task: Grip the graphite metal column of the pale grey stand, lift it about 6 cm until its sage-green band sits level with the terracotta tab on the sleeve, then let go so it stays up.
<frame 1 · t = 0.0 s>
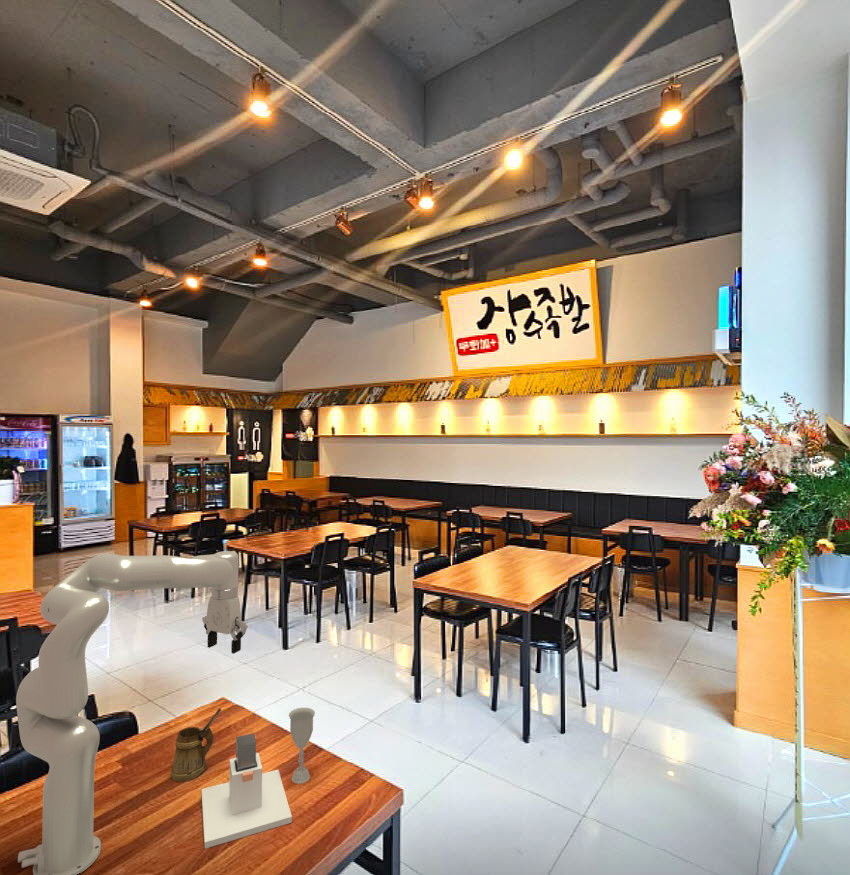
hand: (224, 648, 157), 31 cm above the table, tool pointing down, fingers open, 9 cm apart
wooden mug: (196, 772, 147), on the table
column: (245, 770, 133), point 10 cm above the table, slide at 0.0 cm
chalice: (300, 778, 145), on the table
stand: (245, 808, 133), on the table
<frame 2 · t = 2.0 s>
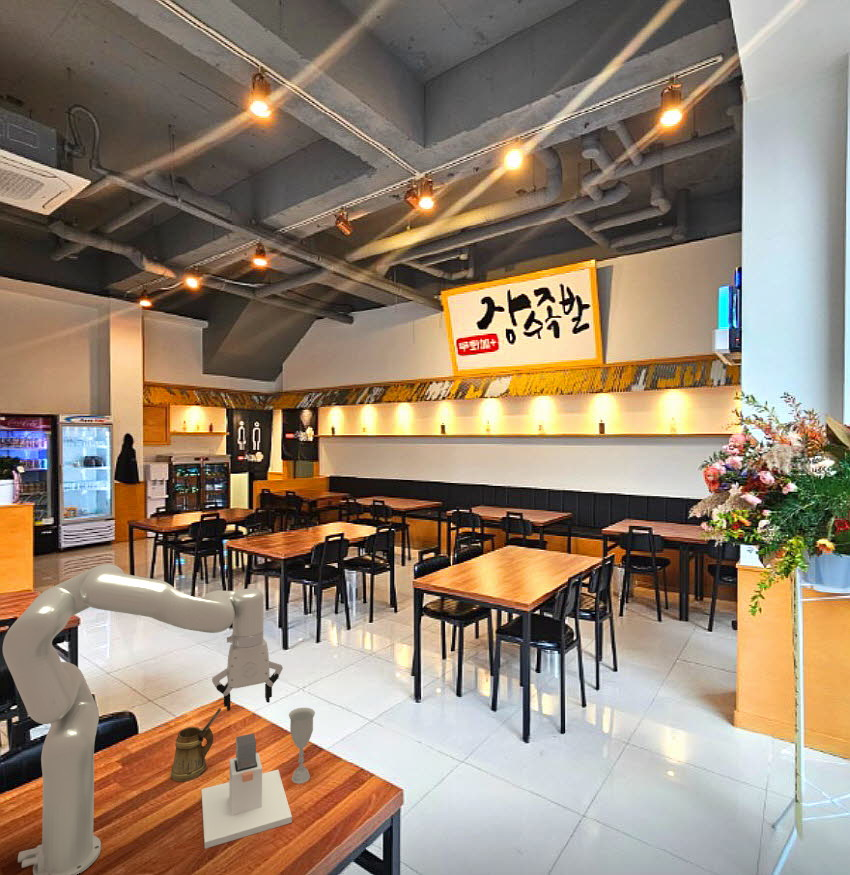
hand: (248, 704, 133), 27 cm above the table, tool pointing down, fingers open, 9 cm apart
nothing on the table moved.
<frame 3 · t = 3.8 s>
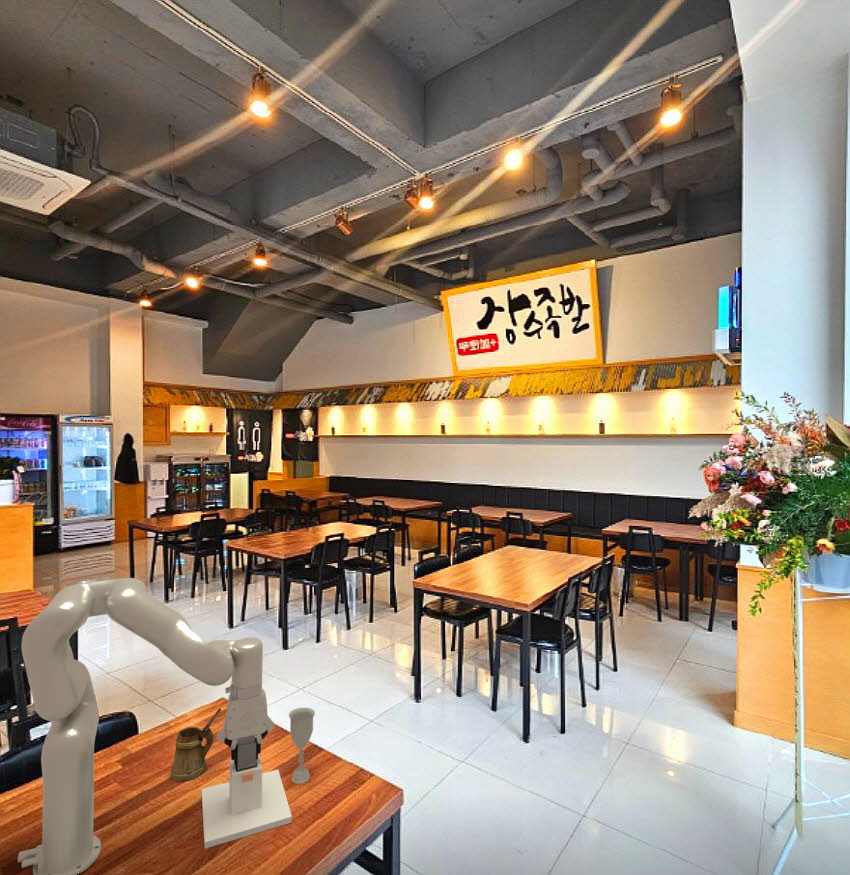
hand: (245, 758, 133), 13 cm above the table, tool pointing down, fingers closed on column, 4 cm apart
column: (245, 770, 133), point 10 cm above the table, slide at 0.0 cm, touching gripper
everything else where it was.
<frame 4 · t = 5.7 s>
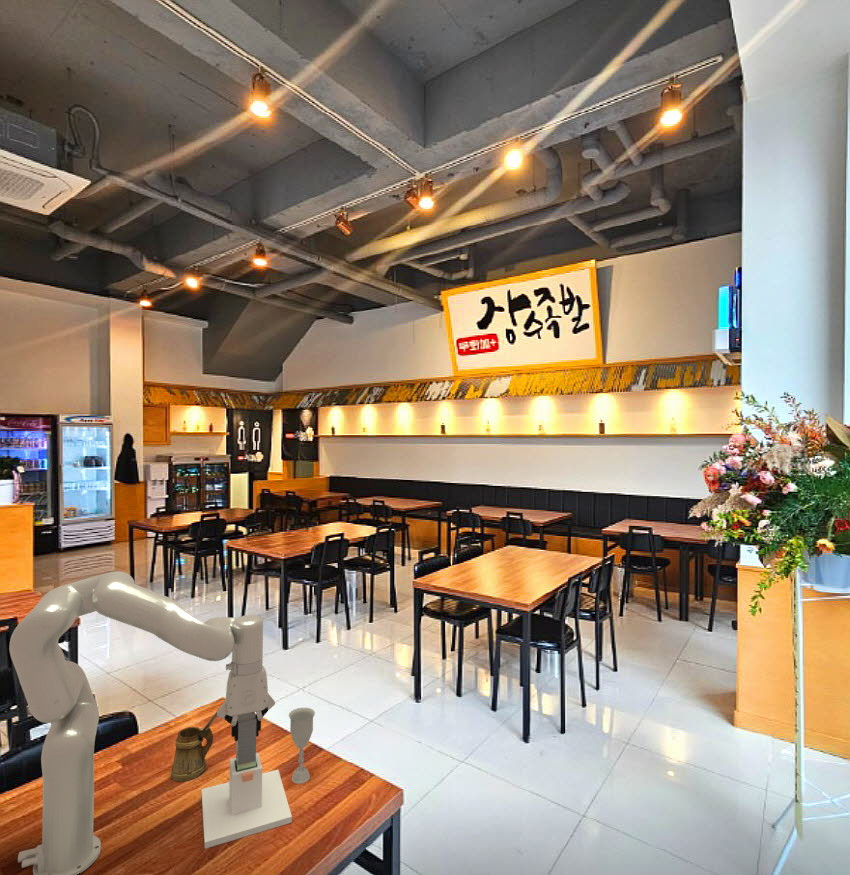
hand: (246, 735, 133), 19 cm above the table, tool pointing down, fingers closed on column, 4 cm apart
column: (246, 747, 133), point 16 cm above the table, slide at 5.9 cm, touching gripper
everything else where it was.
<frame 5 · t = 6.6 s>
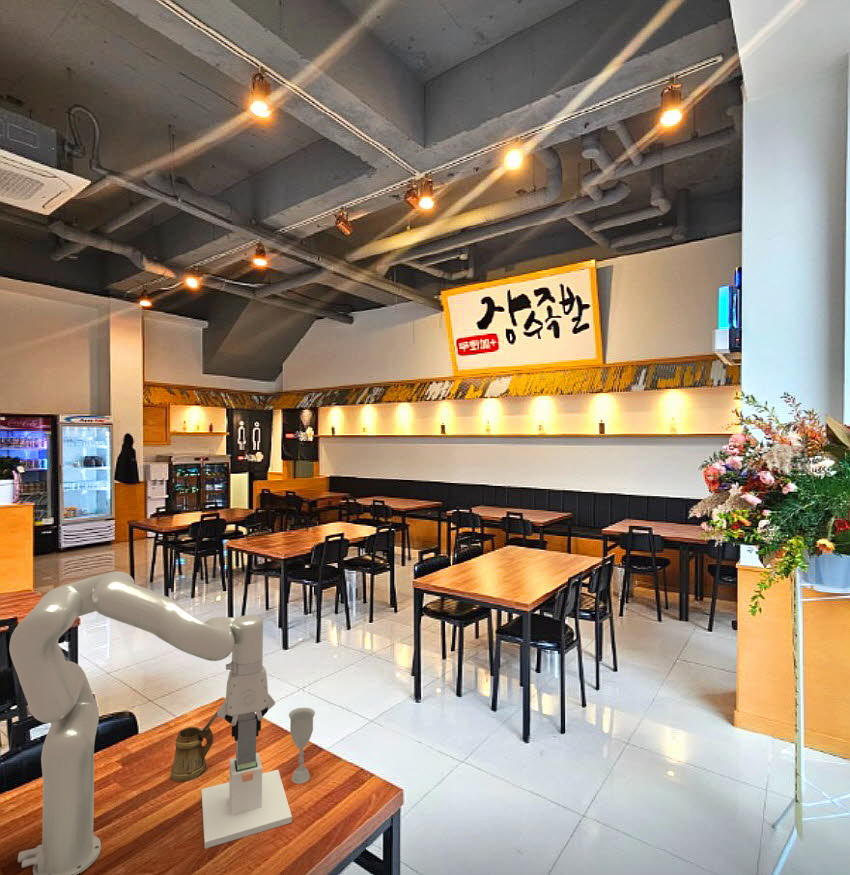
hand: (246, 735, 133), 19 cm above the table, tool pointing down, fingers closed on column, 4 cm apart
column: (246, 747, 133), point 16 cm above the table, slide at 6.0 cm, touching gripper
everything else where it was.
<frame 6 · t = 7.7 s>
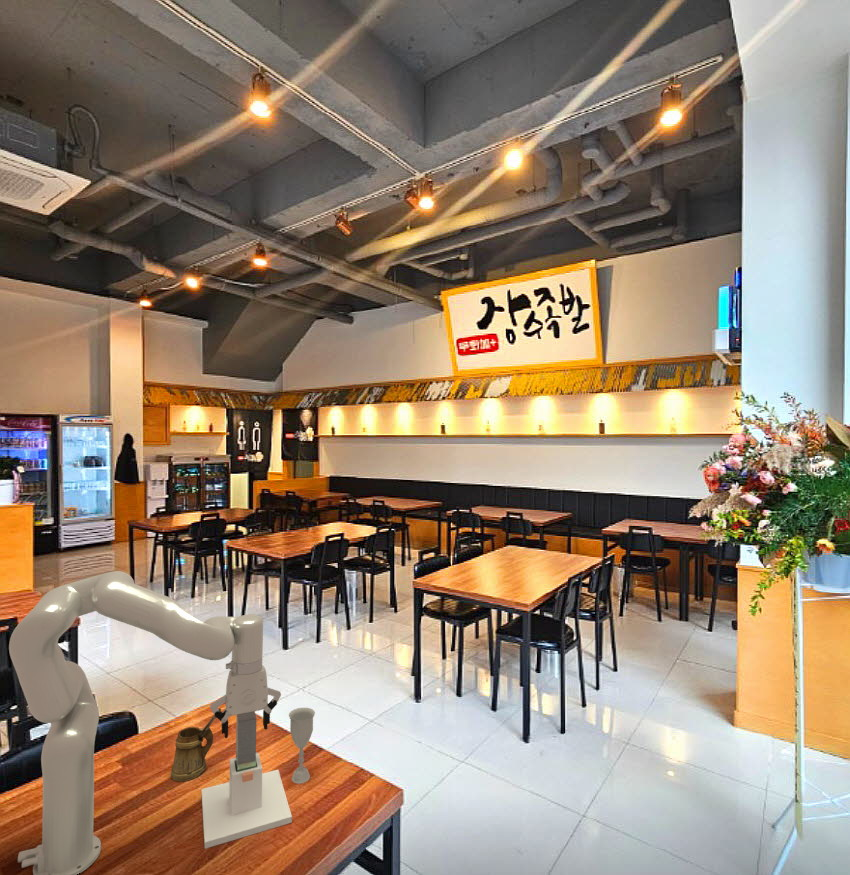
hand: (245, 731, 133), 20 cm above the table, tool pointing down, fingers open, 9 cm apart
column: (246, 747, 133), point 16 cm above the table, slide at 6.0 cm
everything else where it was.
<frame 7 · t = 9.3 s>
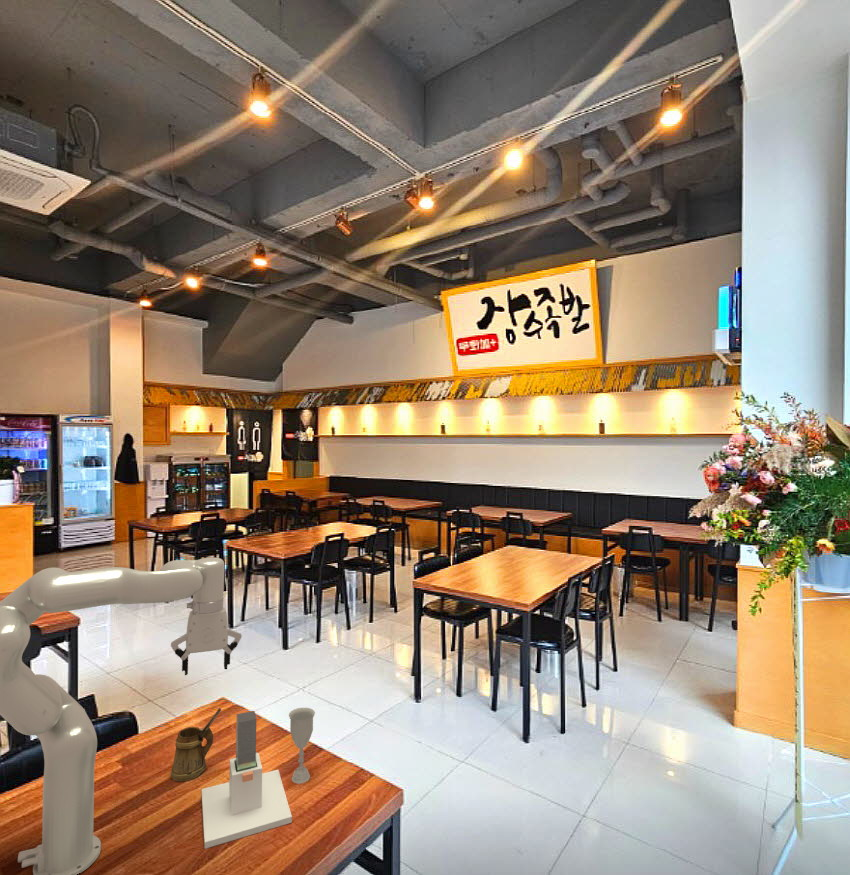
hand: (206, 670, 137), 34 cm above the table, tool pointing down, fingers open, 9 cm apart
nothing on the table moved.
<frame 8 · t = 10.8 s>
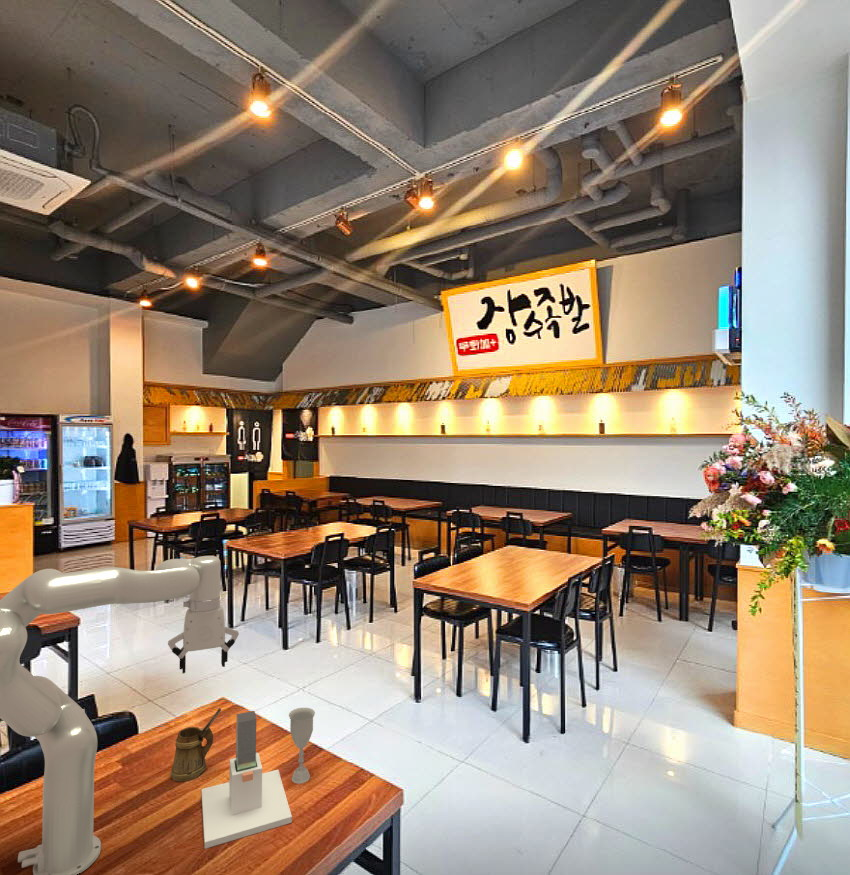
hand: (203, 668, 137), 34 cm above the table, tool pointing down, fingers open, 9 cm apart
nothing on the table moved.
at the end: column slide at 6.0 cm; the gripper is holding nothing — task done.
